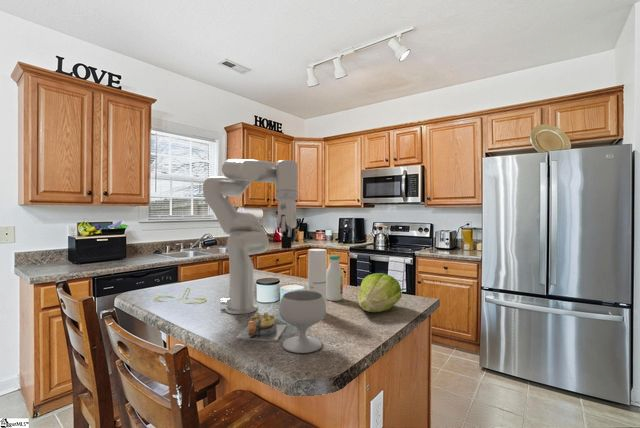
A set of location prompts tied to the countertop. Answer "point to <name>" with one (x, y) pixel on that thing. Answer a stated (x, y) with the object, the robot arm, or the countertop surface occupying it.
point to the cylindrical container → (317, 271)
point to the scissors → (182, 297)
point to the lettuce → (378, 292)
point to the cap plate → (262, 338)
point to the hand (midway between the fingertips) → (286, 248)
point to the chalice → (302, 318)
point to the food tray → (260, 323)
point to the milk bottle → (334, 280)
